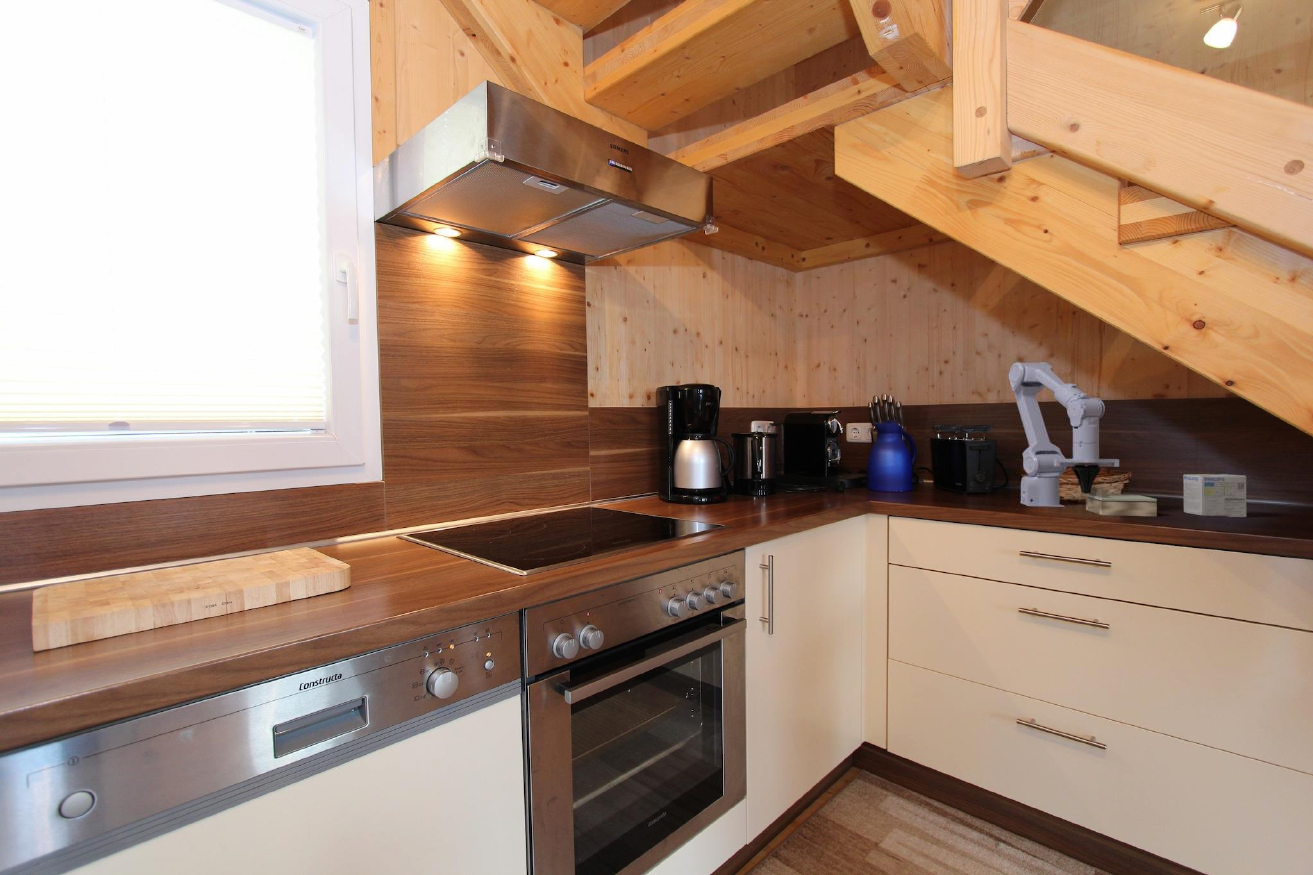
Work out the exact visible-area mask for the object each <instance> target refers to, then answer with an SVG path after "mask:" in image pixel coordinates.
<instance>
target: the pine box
mask: <svg viewBox="0 0 1313 875" xmlns="http://www.w3.org/2000/svg"><path fill="white" fill-rule="evenodd" d="M1157 504H1158V503H1157V501H1105V500H1098V499H1095V498H1091V497H1088V496H1086V497H1085V511H1089V512H1091V513H1093V514H1094V513H1095V514H1097V515H1100V516H1120V517H1121V516H1123V517H1126V516H1127V517H1133V516H1134V517H1158V516H1157V515H1158V514H1157V513H1158V511H1157V510H1158V509H1157V508H1158V506H1157Z"/></svg>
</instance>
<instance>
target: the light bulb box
mask: <svg viewBox="0 0 1313 875" xmlns="http://www.w3.org/2000/svg"><path fill="white" fill-rule="evenodd" d="M1182 478H1183V512H1184V513H1187V514H1193V515H1198V516H1210V517H1212V516H1215V517H1217V516H1223V517H1224V516H1225V517H1229V518H1247V475H1245V474H1244V475H1240V474H1228V473H1219V474H1218V473H1217V474H1215V473H1211V474H1210V473H1208V474H1207V473H1206V474H1205V473H1204V474H1197V473H1196V474H1183V477H1182Z"/></svg>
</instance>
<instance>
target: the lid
mask: <svg viewBox="0 0 1313 875" xmlns="http://www.w3.org/2000/svg"><path fill="white" fill-rule="evenodd" d="M1085 496H1086V497H1091V498H1095V499H1098V500H1105V501H1152V502H1157V498H1154V497H1149V496H1144V495H1140V494H1123V493H1122V494H1118V493H1117V494H1115V493H1113V494H1112V493H1111V494H1110V493H1108V489H1103V488H1099V487H1095V486H1092V488H1091V492H1090V494H1085Z"/></svg>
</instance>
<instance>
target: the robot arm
mask: <svg viewBox="0 0 1313 875" xmlns="http://www.w3.org/2000/svg"><path fill="white" fill-rule="evenodd" d="M1053 368H1054V367H1053V366H1052V365H1050V364H1049V363H1048V362H1045V361H1043V362H1042V361H1041V362H1019V361H1018V362H1015V363H1013V364H1012V365H1011V367H1010V369H1009V372H1008V379H1009V382H1010V388H1011V390H1012V392H1013V394H1014V398H1015V401H1016V405H1017V409H1018V411H1019V415H1020V419H1021V423H1022V426H1023V429H1024V432H1025V435H1026V439H1027V443H1028V447H1027V448H1026V449H1025V450H1024V451H1023V453H1022V457H1023V461H1022V462H1023V465H1022V466H1023V469H1024V471H1025V472H1026V474H1027V476H1025V475H1024V476H1022V477H1021V481H1020V504H1022V505H1025V506H1027V507H1055V508H1057V507H1058V508H1059V507H1060V508H1061V507H1063V508H1064V507H1066V506H1065V505H1063V504H1060V477H1062V476H1063V474H1064V473H1065V472H1066V470H1067V467H1071V470H1072V472H1073V473H1074V475H1075V477H1076V479H1077V481H1078V484H1079V486H1080V492H1081V493H1082V494H1085V495H1086V494H1090V492H1091V488H1092V487H1093V484H1094V483H1095V480H1096V479H1097V476H1098V475H1099V473H1100V472H1101V467H1114V468H1115V467H1116V468H1117V467H1120V459H1117V458H1100V444H1099V443H1100V419H1101V418H1103V416H1104V414H1105V412H1106V410H1105V408H1106V406H1105V403H1104V402H1103V401H1102V400H1101V399H1100V398H1098V397H1090V396H1088V394H1087V393H1086V392H1084V391H1082V390H1081V389H1080V388H1079V387H1078V385H1077V384H1075V383H1070V382H1069V383H1065V381H1063V380H1062V379H1061V378H1060V377H1059V376H1058V375H1057V374H1056V373H1055V372H1054V369H1053ZM1044 387H1046V388H1047V389H1049V390H1050V391H1051V392H1053V393H1054V394H1053V395H1054V396H1053V397H1054V399H1055V400H1056V401H1057V402H1059V403H1060V405H1062V406H1063V408H1065V409H1066V412H1067V417H1068V418H1069V420H1070V421H1069V422H1070V425H1071V426H1072V458H1066V457H1065V456H1064V455H1063V452H1062V450H1061V449H1060V447H1058V446H1056V445H1055V444H1053V443H1052V442H1051V440H1050V438H1049V434H1048V432H1047V428H1046V426H1045V425H1046V424H1045V421H1044V418H1043V415H1042V412H1041V409H1040V408H1041V407H1040V405H1039V403H1038V399H1037V394H1038V393H1040V392H1042V391H1043V390H1044Z"/></svg>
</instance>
